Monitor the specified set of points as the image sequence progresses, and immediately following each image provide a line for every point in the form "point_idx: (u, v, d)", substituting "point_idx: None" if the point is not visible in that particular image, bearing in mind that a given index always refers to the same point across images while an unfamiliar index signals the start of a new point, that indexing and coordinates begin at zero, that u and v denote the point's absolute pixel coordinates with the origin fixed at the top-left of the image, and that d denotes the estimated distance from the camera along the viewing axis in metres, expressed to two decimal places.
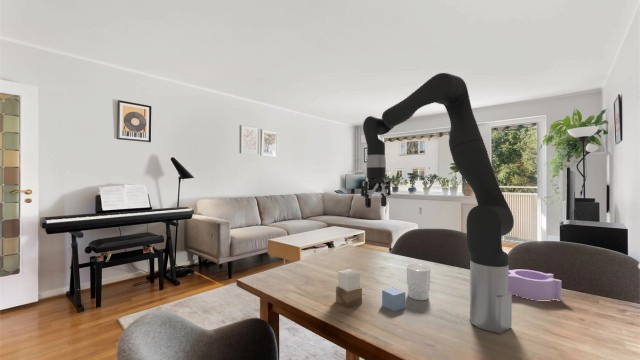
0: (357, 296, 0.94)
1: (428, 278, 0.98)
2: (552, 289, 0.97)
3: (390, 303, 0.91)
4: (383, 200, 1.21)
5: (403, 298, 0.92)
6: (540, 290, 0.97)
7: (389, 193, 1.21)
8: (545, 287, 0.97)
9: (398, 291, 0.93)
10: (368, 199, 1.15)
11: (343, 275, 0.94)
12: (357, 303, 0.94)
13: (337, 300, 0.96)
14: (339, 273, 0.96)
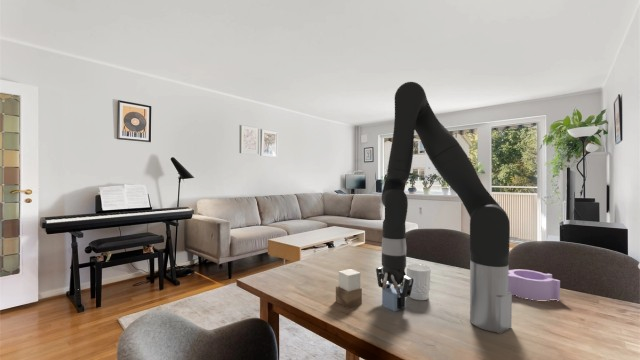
0: (357, 296, 0.94)
1: (428, 278, 0.98)
2: (551, 289, 0.98)
3: (390, 303, 0.91)
4: None
5: None
6: (539, 290, 0.97)
7: None
8: (544, 287, 0.97)
9: None
10: (403, 298, 0.91)
11: (343, 275, 0.95)
12: (357, 303, 0.94)
13: (337, 300, 0.96)
14: (339, 273, 0.96)
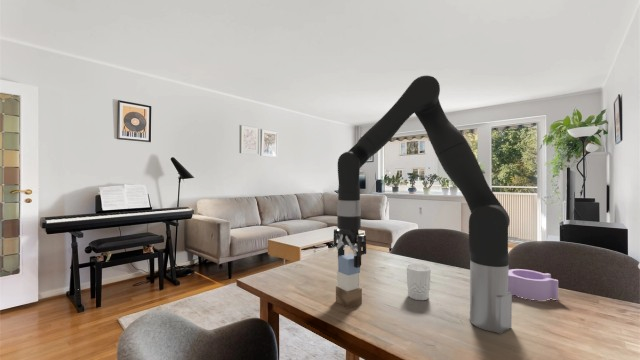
0: (357, 296, 0.94)
1: (428, 278, 0.98)
2: (549, 289, 0.98)
3: (345, 267, 0.94)
4: (342, 253, 0.99)
5: None
6: (537, 290, 0.97)
7: None
8: (542, 287, 0.97)
9: (353, 257, 0.95)
10: None
11: (342, 275, 0.94)
12: (357, 303, 0.94)
13: (337, 300, 0.96)
14: (338, 273, 0.96)
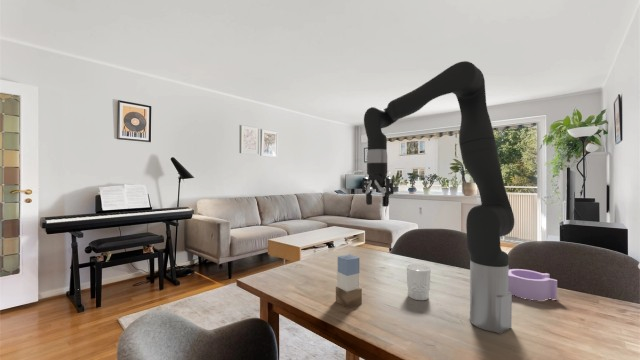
0: (357, 296, 0.94)
1: (428, 278, 0.98)
2: (548, 289, 0.98)
3: (344, 268, 0.94)
4: (370, 198, 1.14)
5: (356, 263, 0.95)
6: (536, 290, 0.97)
7: None
8: (541, 287, 0.97)
9: (352, 257, 0.95)
10: None
11: (342, 275, 0.94)
12: (357, 303, 0.94)
13: (337, 300, 0.96)
14: (338, 273, 0.96)
